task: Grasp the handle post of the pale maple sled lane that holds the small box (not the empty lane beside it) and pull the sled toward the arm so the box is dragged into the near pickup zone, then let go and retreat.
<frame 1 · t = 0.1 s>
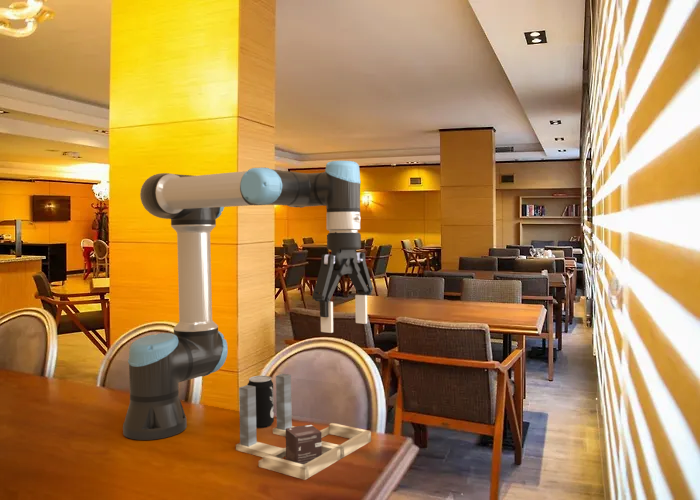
hand: (345, 327, 128), 28 cm above the table, fingers open, 13 cm apart
sled B: (315, 410, 136), point 7 cm above the table, slide at 0.0 cm
box: (303, 465, 122), resting in sled A
beverage can: (261, 425, 148), on the table
sled A: (280, 425, 126), point 7 cm above the table, slide at 0.0 cm
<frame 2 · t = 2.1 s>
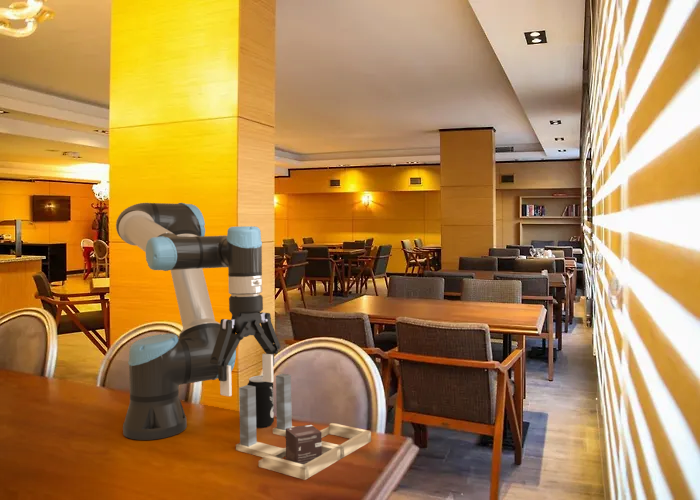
hand: (248, 388, 131), 14 cm above the table, fingers open, 13 cm apart
nothing on the table moved.
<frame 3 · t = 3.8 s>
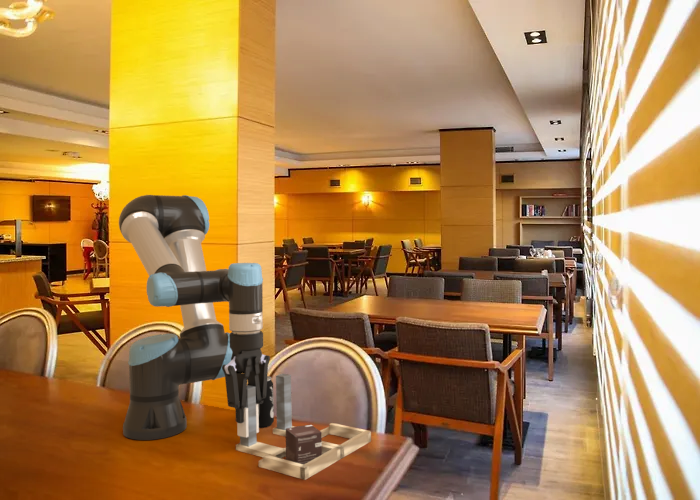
hand: (248, 433, 131), 4 cm above the table, fingers closed on sled A, 3 cm apart
sled A: (280, 425, 126), point 7 cm above the table, slide at 0.0 cm, touching gripper
everything else where it was.
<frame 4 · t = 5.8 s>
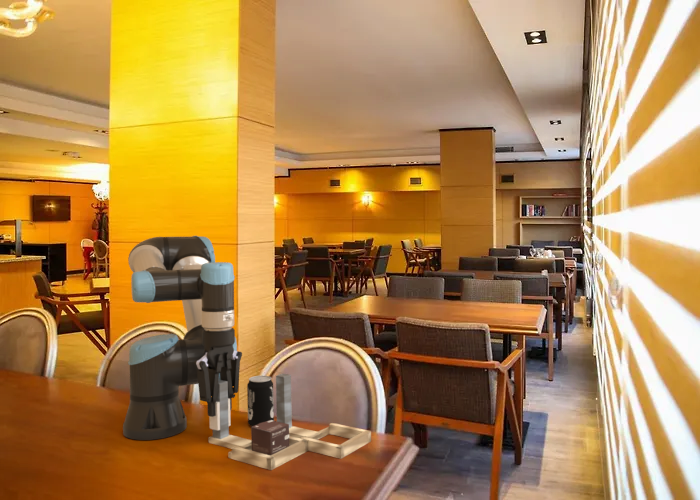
hand: (220, 426, 136), 3 cm above the table, fingers closed on sled A, 3 cm apart
box: (270, 459, 126), resting in sled A
sled A: (250, 418, 131), point 7 cm above the table, slide at 8.9 cm, touching gripper
everything else where it was.
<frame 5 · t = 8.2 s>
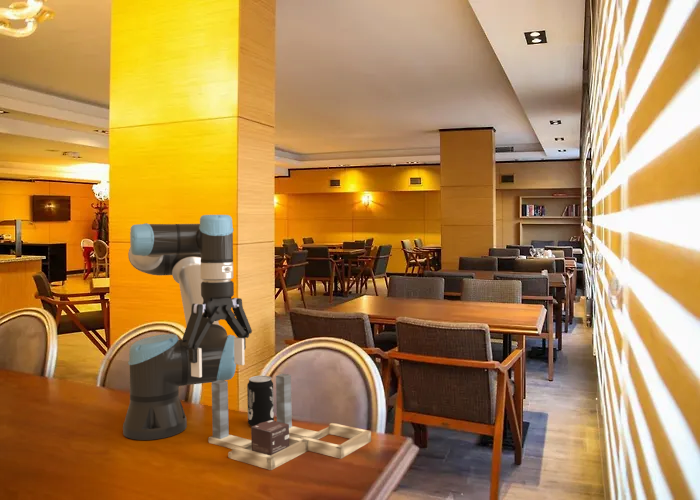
hand: (218, 370, 136), 17 cm above the table, fingers open, 13 cm apart
sled A: (250, 418, 131), point 7 cm above the table, slide at 8.9 cm
everything else where it was.
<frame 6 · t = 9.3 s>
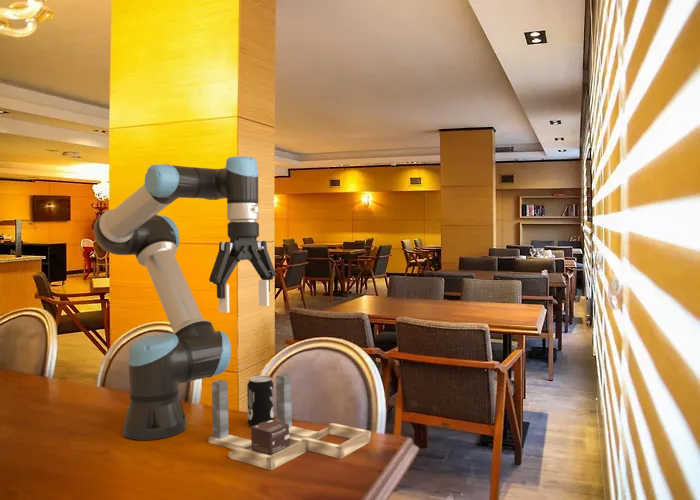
hand: (244, 309, 140), 31 cm above the table, fingers open, 13 cm apart
nothing on the table moved.
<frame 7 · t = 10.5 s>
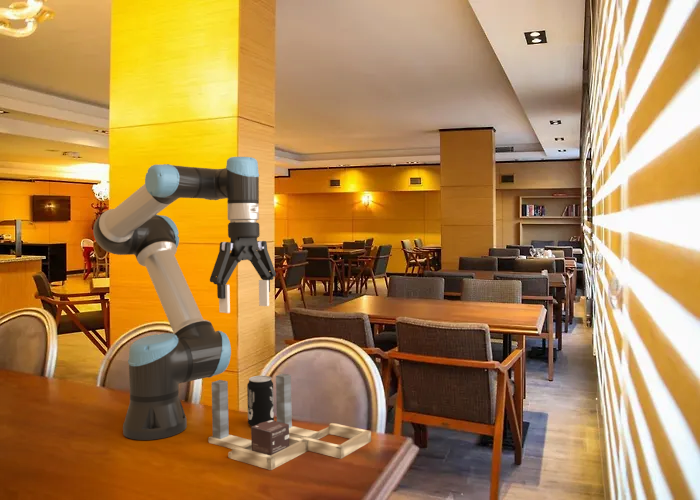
hand: (245, 309, 140), 31 cm above the table, fingers open, 13 cm apart
nothing on the table moved.
at the end: box inside the target area (2.1 cm from its centre), resting in sled A; sled A slide at 8.9 cm; box tilted 0° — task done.
